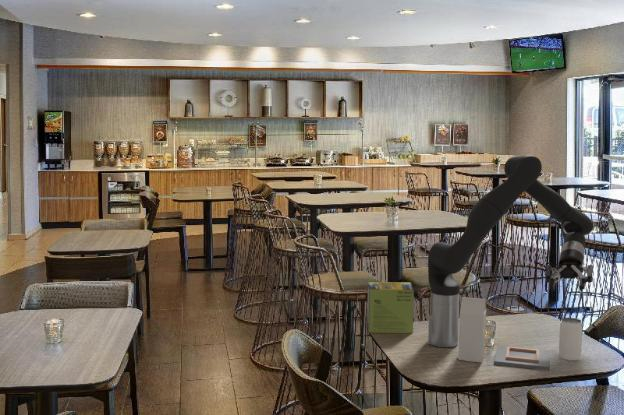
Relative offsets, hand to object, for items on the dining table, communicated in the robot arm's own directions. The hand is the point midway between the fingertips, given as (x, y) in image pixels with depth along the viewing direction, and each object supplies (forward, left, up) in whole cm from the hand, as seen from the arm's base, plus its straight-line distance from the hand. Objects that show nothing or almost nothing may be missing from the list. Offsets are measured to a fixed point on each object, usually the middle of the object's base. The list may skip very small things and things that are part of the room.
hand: (566, 288), depth 221 cm
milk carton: (-27, -19, -20) cm, 39 cm away
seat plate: (-12, -15, -20) cm, 27 cm away
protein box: (-57, +2, -20) cm, 61 cm away
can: (+2, -9, -20) cm, 22 cm away
